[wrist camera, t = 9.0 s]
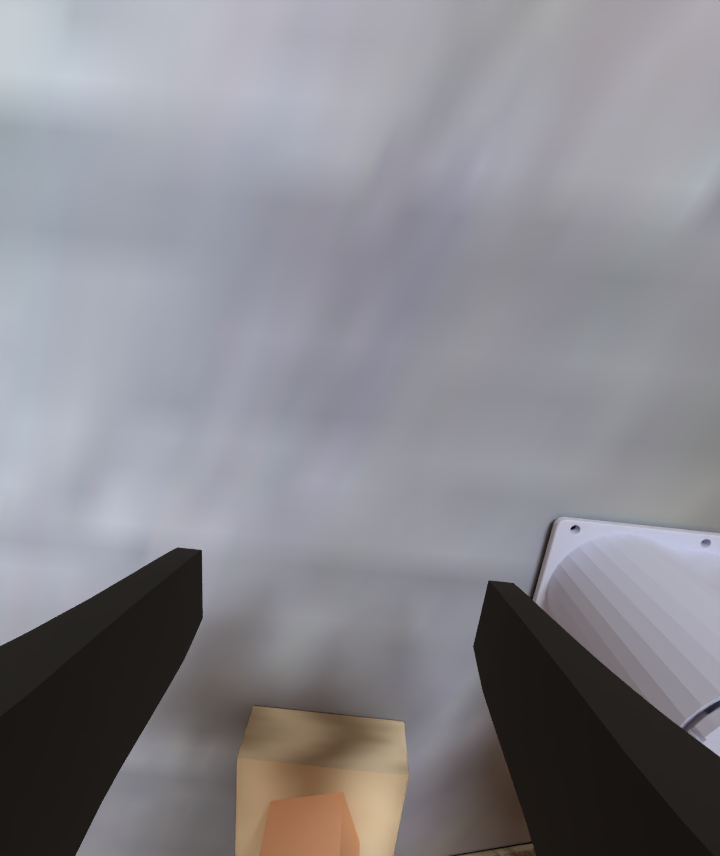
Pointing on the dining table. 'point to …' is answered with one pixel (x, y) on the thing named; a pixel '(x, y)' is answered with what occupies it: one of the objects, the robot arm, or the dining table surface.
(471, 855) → the coffee box
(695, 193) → the dining table surface
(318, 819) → the block
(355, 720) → the riser
